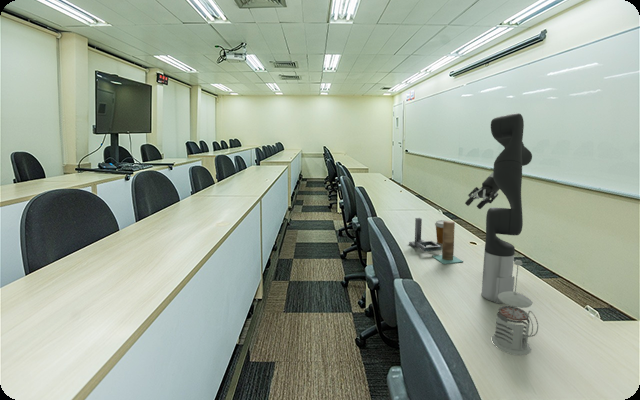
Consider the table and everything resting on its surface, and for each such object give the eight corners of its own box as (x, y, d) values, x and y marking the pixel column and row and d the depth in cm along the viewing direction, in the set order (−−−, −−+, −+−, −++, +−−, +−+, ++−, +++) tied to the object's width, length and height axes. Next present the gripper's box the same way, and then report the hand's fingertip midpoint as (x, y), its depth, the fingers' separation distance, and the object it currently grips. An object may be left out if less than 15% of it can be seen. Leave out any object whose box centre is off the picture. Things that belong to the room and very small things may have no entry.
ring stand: (440, 254, 156) (442, 225, 153) (424, 256, 154) (425, 226, 151) (422, 243, 174) (423, 216, 171) (407, 244, 172) (408, 217, 169)
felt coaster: (462, 262, 145) (463, 261, 145) (443, 264, 144) (443, 263, 144) (450, 254, 155) (450, 254, 155) (432, 256, 153) (432, 255, 153)
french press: (509, 330, 93) (517, 251, 88) (546, 355, 82) (557, 267, 77) (482, 336, 90) (489, 256, 86) (517, 363, 79) (526, 272, 75)
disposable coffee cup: (453, 245, 168) (455, 224, 166) (435, 245, 170) (436, 224, 168) (450, 240, 177) (451, 220, 175) (432, 239, 179) (433, 219, 177)
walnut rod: (455, 259, 147) (457, 223, 144) (445, 260, 146) (447, 224, 143) (449, 256, 152) (450, 220, 149) (440, 257, 151) (441, 221, 148)
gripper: (480, 174, 153) (458, 198, 153) (502, 177, 139) (477, 203, 139) (489, 185, 154) (467, 208, 154) (511, 188, 141) (487, 214, 141)
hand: (472, 206), depth 147 cm, fingers open, 8 cm apart
